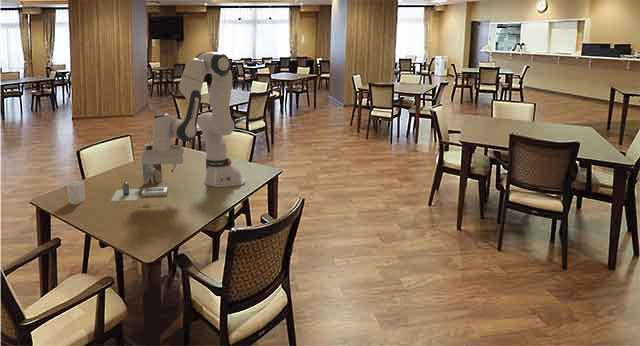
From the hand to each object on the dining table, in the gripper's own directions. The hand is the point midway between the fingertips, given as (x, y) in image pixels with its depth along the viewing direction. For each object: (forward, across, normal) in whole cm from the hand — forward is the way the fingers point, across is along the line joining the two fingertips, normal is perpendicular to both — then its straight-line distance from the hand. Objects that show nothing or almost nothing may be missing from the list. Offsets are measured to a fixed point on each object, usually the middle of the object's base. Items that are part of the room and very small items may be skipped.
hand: (163, 172), depth 259 cm
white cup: (+14, +40, +6) cm, 43 cm away
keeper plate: (+13, +18, 0) cm, 22 cm away
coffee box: (+12, +8, -22) cm, 26 cm away
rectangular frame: (+12, +4, 0) cm, 13 cm away
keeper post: (+12, +18, 0) cm, 22 cm away
